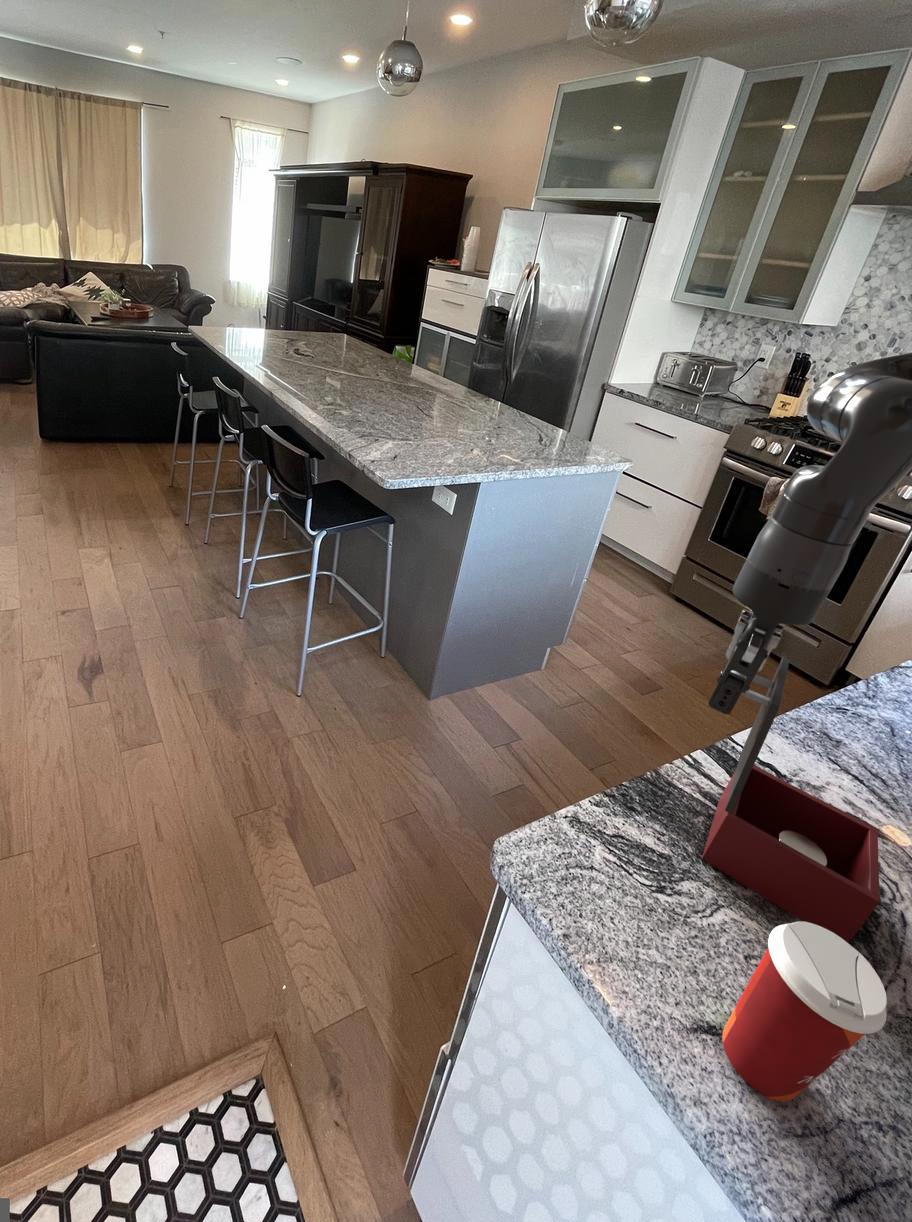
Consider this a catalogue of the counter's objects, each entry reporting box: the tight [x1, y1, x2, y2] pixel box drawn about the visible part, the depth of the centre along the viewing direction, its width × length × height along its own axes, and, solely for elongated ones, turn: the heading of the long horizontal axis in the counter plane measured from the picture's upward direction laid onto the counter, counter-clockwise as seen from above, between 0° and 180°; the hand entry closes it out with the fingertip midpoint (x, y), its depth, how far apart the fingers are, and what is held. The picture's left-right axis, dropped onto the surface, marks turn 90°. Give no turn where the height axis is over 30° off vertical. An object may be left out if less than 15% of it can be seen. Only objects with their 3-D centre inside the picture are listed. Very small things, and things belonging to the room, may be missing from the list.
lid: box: [725, 656, 791, 814], centre depth 71 cm, size 14×12×5 cm
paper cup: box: [721, 921, 888, 1103], centre depth 51 cm, size 8×8×14 cm
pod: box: [778, 831, 827, 867], centre depth 70 cm, size 5×5×4 cm
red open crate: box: [701, 765, 881, 944], centre depth 70 cm, size 14×12×8 cm
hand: (722, 697), depth 71 cm, fingers closed on lid, 5 cm apart
